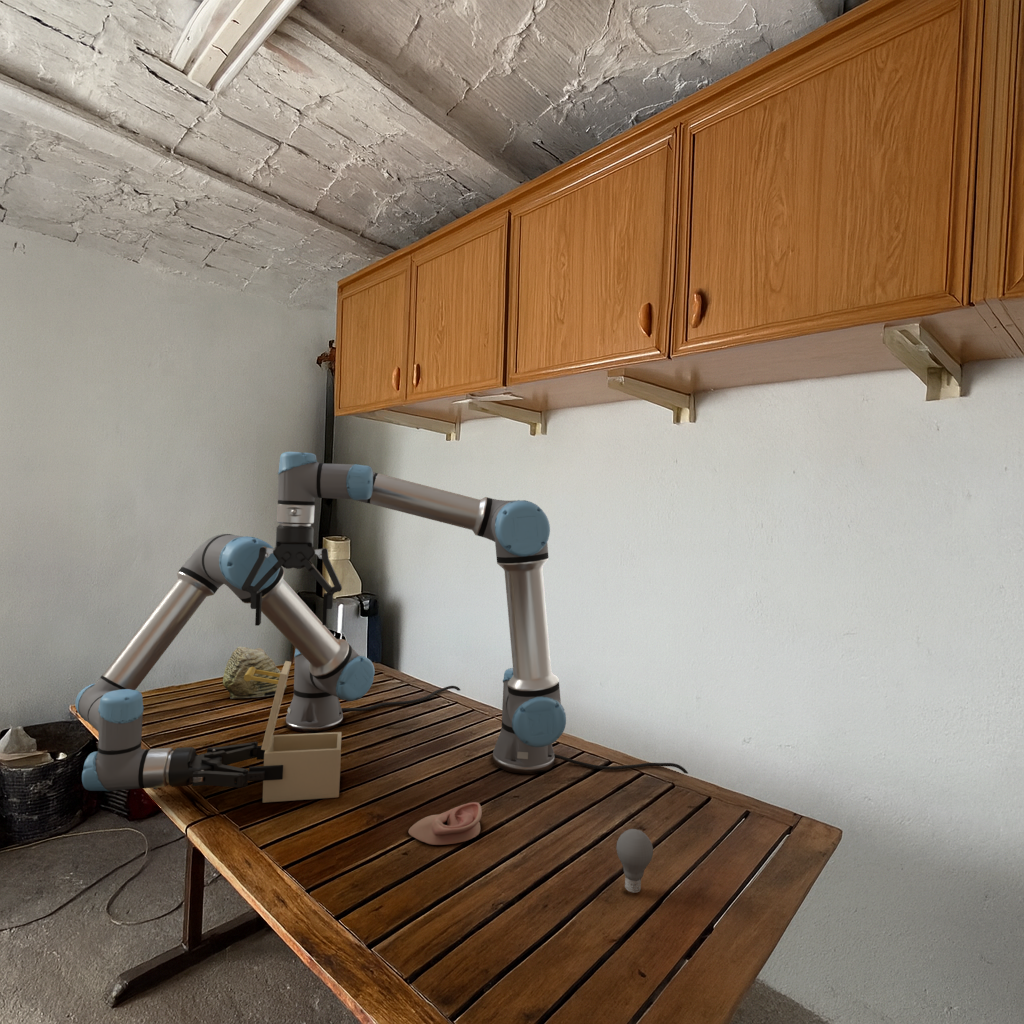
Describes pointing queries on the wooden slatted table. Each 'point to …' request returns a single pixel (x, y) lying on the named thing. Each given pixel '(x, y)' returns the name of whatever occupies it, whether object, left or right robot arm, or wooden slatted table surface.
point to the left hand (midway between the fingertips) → (285, 761)
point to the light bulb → (634, 857)
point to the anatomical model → (449, 825)
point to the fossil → (239, 667)
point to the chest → (304, 766)
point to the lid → (277, 698)
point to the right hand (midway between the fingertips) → (291, 624)
